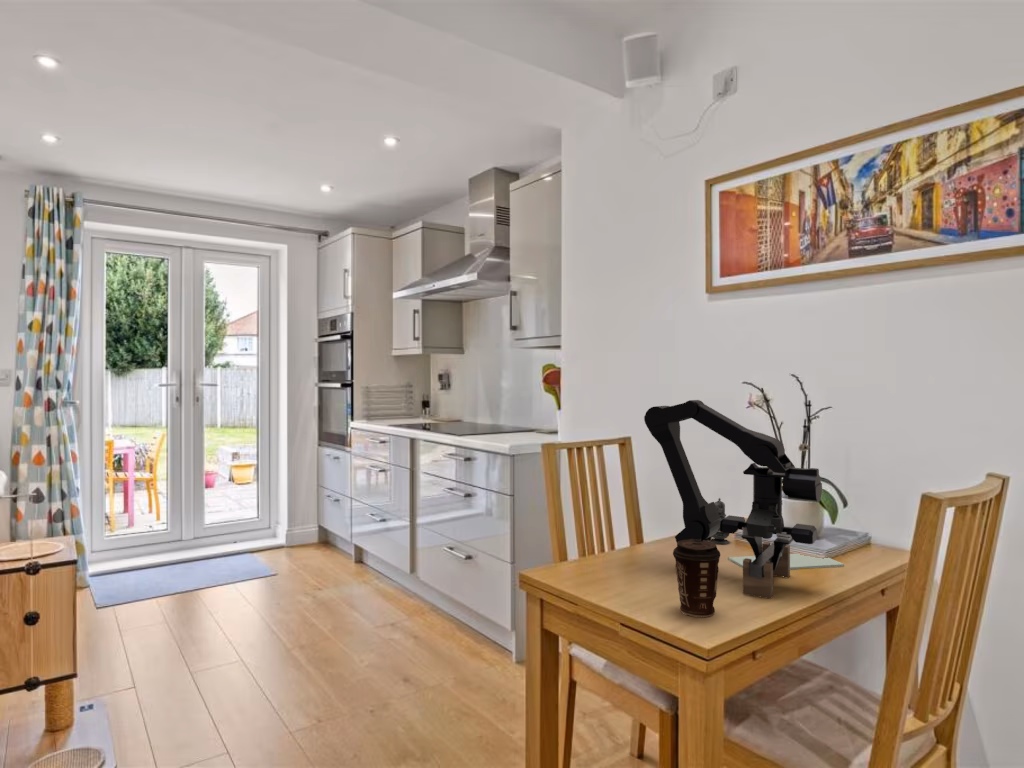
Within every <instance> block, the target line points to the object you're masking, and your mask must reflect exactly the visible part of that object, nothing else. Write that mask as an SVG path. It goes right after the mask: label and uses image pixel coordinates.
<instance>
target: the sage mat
mask: <svg viewBox="0 0 1024 768" xmlns="http://www.w3.org/2000/svg"><path fill="white" fill-rule="evenodd" d="M745 558H747V559H752V562H753V561H754V560H755V559H756V558H755V555H750V556H749V555H747V556H746V555H745V556H732V557H731V556H730V557H727V560H728V561H730V562H731V563H733V564H736V565H737V566H739V567H741V568H742V569H743V560H744V559H745ZM836 567H837V568H838V567H839V568H841V567H845V563H842V562H840V561H837V560H835V559H833V558H831V557H828V558H824V559H822V558H815V557H810V556H804V555H800V554H799V553H790V570H801V569H800V568H807V569H821V568H822V569H823V568H836Z"/></svg>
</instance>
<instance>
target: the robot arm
mask: <svg viewBox="0 0 1024 768" xmlns="http://www.w3.org/2000/svg"><path fill="white" fill-rule="evenodd" d="M691 419H693V420H695V421H696V422H698V423H699V424H701V425H703V426H704V427H706V428H708V429H709V430H711V431H713V432H715V433H716V434H718V435H720V436H721V437H723V438H724V439H726V440H728V441H729V442H731V443H733V444H734V445H736V447H738V448H739V449H740V451H741V452H742V453H743V454H744V455H745V456H746V457H747V458H748V459H750V460H751V461H752V462H751V463H750V464H749V466H748V467H747V468H746V469H745V470H743V472H742V473H743V475H747V476H749V475H750V476H753V477H752V479H753V483H752V485H753V487H752V490H753V492H752V495H753V496H752V505H751V510H750V513H749V515H748V517H747V519H746V518H745V517H744V516H738V515H726V516H725V518H724V519H722V520H721V523H720V522H719V519H721V517H720V516H719V515H718V513H717V510H716V506H715V502H714V501H712V502H710V503H709V502H708V501H707V500H706V499H705V498H704V496H703V495H702V493H701V490H700V487H699V485H698V482H697V479H696V478H695V473H694V472H693V470H692V466H691V465H690V462H689V459H688V456H687V454H686V452H685V449H684V446H683V444H682V441H681V423H680V422H683V421H686V420H691ZM643 420H644V424H645V426H646V428H647V429H648V431H649V433H650V434H651V436H652V437H653V438H654V439H655V440H656V441H657V443H658V444H659V445H660V447H661V449H662V451H663V454H664V457H665V459H666V462H667V465H668V467H669V470H670V472H671V474H672V479H673V481H674V483H675V487H676V489H677V491H678V493H679V497H680V499H681V501H682V519H683V520H682V521H683V524H684V528H683V529H682V530H680V531H679V532H678V533H677V534H676V535H674V538H675V542H676V543H677V542H678V541H682V540H689V539H694V540H696V539H698V540H701V541H703V540H706V541H708V542H709V541H711V539H713V537H712V535H714V534H716V533H717V532H718V529H719V527H720V531H721V532H725V533H730V534H732V535H733V534H734V535H735V533H737V532H738V531H739V530H741V531H742V535H741V539H743V540H745V541H747V543H748V544H749V545H750V547H751V549H752V552H753V554H754V555H753V556H755V558H757V557H758V556H759V555H760V554H761V553H762V544H763V539H764V540H768V539H771V538H773V535H775V536H776V538H775V539H774V540H773V543H774V554H773V570H774V571H775V570H776V567H777V565H778V562H779V559H780V557H781V554H782V552H783V550H784V548H785V546H786V545H791V543H792V542H795V543H799V544H805V545H813V544H814V543H815V542H816V541H817V540H818V529H817V527H816V526H815V525H813V524H812V525H811V524H803V523H802V524H801V523H795V525H794V526H793V527H792V526H791V527H790V526H785V523H784V522H785V521H784V518H783V508H782V507H783V500H782V499H783V494H784V496H787V497H788V499H789V500H795V501H805V502H806V501H807V502H814V503H819V502H821V499H822V495H823V494H822V492H823V483H822V479H821V476H820V469H819V468H814V467H811V468H803V467H801V468H800V467H796V465H794V464H793V463H794V462H792V461H791V459H790V458H789V457H788V456H787V454H786V453H785V451H786V450H785V449H786V448H785V447H784V444H783V442H782V441H781V440H779V439H778V438H776V437H773V436H771V435H767V434H765V433H763V432H758V431H754V430H752V429H749V428H747V427H745V426H743V425H741V424H740V423H738V422H736V421H734V420H732V418H729V417H727V416H725V415H723V414H722V413H720V412H719V411H718V410H715V409H714V408H712V407H710V406H708V405H707V404H705V403H704V402H703V401H702V400H700V399H692V400H687V401H686V402H683V403H678V404H675V405H671V406H670V405H658V406H651V407H649V408H648V409H647V411H646V412H645V414H644V416H643ZM675 567H676V568H677V566H676V565H675Z"/></svg>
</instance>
